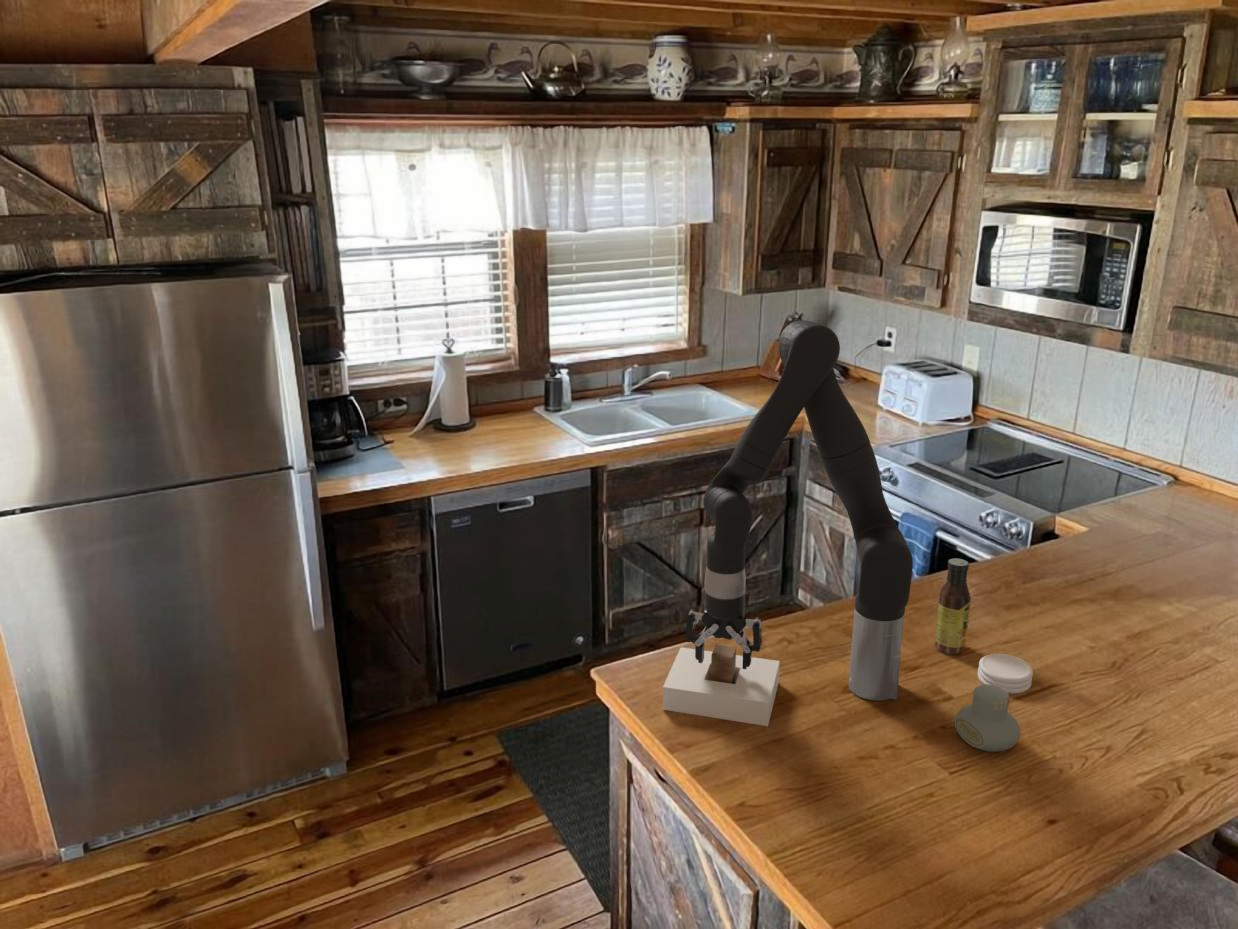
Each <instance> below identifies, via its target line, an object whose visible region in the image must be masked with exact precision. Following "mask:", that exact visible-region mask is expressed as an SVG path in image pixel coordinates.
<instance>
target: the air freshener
mask: <svg viewBox="0 0 1238 929" xmlns="http://www.w3.org/2000/svg"><path fill="white" fill-rule="evenodd" d="M1009 703H1010V695H1009V693H1007V692H1006V691H1005V690H1003V689H1002V688H1000V687H997V686H994V685H984V684H980V685H978V686H977V687H975V688H974V690H973V696H972V703H970V704H968V705H965V706H963V707H962V708H960V709H959V710H958V712H957V713H956V715H955V717H954V727H955V729H956V730H957V733H958V735H959V736H960V737H961V739H962V740H964V741H965V742H966V743H967V744H968V745H970V746H971V747H973V748H976V749H978V750H981V751H985V752H994V753H995V752H1002V751H1006V750H1010V749H1011V748H1012V747H1014V746H1015V745H1016V744H1018V741H1019V740H1020V737H1021V728H1020V724H1019V723H1018V721H1017V719H1016V718H1015V717H1014V716H1013V715H1012V714H1011V713H1010V711H1009V706H1010V705H1009Z"/></svg>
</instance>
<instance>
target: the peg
mask: <svg viewBox="0 0 1238 929" xmlns="http://www.w3.org/2000/svg"><path fill="white" fill-rule="evenodd" d="M712 652H713V653H712V656H711V681H717V682H723V683H730V684H735V667H736V655H737V647H736V646H735V647H734V646H729V645H721V644H715V646H714V648H713V650H712Z"/></svg>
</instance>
